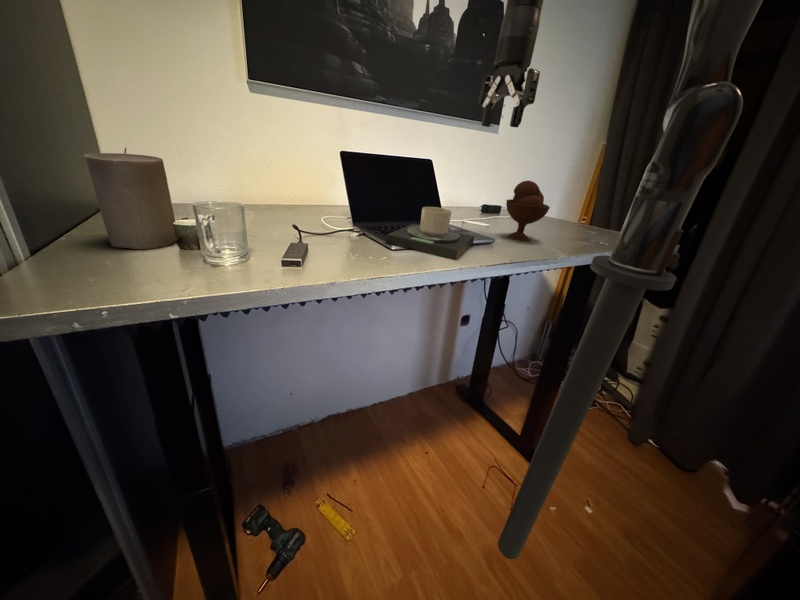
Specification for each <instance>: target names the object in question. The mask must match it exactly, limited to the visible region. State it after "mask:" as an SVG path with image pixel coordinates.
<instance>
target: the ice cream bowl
mask: <svg viewBox="0 0 800 600" xmlns="http://www.w3.org/2000/svg"><path fill="white" fill-rule="evenodd" d="M513 194H514V195H513V198H512V199H510V198H509V199H506V203H505V204H506V211H507V213H508V214H509V216H510V218H511V219H512V220H513V221H514V222H516V223H517V229H516V231H514V232H511V233H509V234H508V235H507V236H508V238H509V239H511V240H515V241H518V242H528V241H529V240H530V238H529V236H527V235H526V233H524V232H525V228H526V226H527V225H530V224H533V223H534V224H535V223H536V222H538V221H540V220H541V219H543V218H544V217H545V216H546V215H547V213H548V212H549V210H550V208H551V207H550V206H549V205H548V204H545V203H544V201H545V199H544V198H545V196H544V194H543V193H542V191H541V189H540V187H539V186H538V184H537V182H535V181H532V180H523V181H521V182H519V183H518V184H517V185H516V186H515V187H514V189H513Z"/></svg>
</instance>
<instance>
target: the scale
mask: <svg viewBox="0 0 800 600" xmlns="http://www.w3.org/2000/svg"><path fill="white" fill-rule="evenodd" d="M419 225H420V224H417V223H412V224H410V225H409V224H408V225H407V226H405V227H402V228H399V229H397V230H395V231H392V232H389V233H388V234H386V244H388V245H393V246H396V247H401V248H405V249H410V250H414V251H418V252H421V253H426V254H430V255H434V256H439V257H443V258H448V259H453V260H457V259H458V258H459V257H460V256H461V255H463V254H464V253H465V252H466V251H467V250H468V249H469V248H471V246H472V245H473V244H474V240H475V235H471V234H466V233H461V232H457V233H458V234H459V235H460V237H459V240H457V241H453V242H435V241H428V240H424V239H419V238H416V237H413V236H411V235H409V234H408V233H407V229H408V228H409V227H411V226H419Z"/></svg>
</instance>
